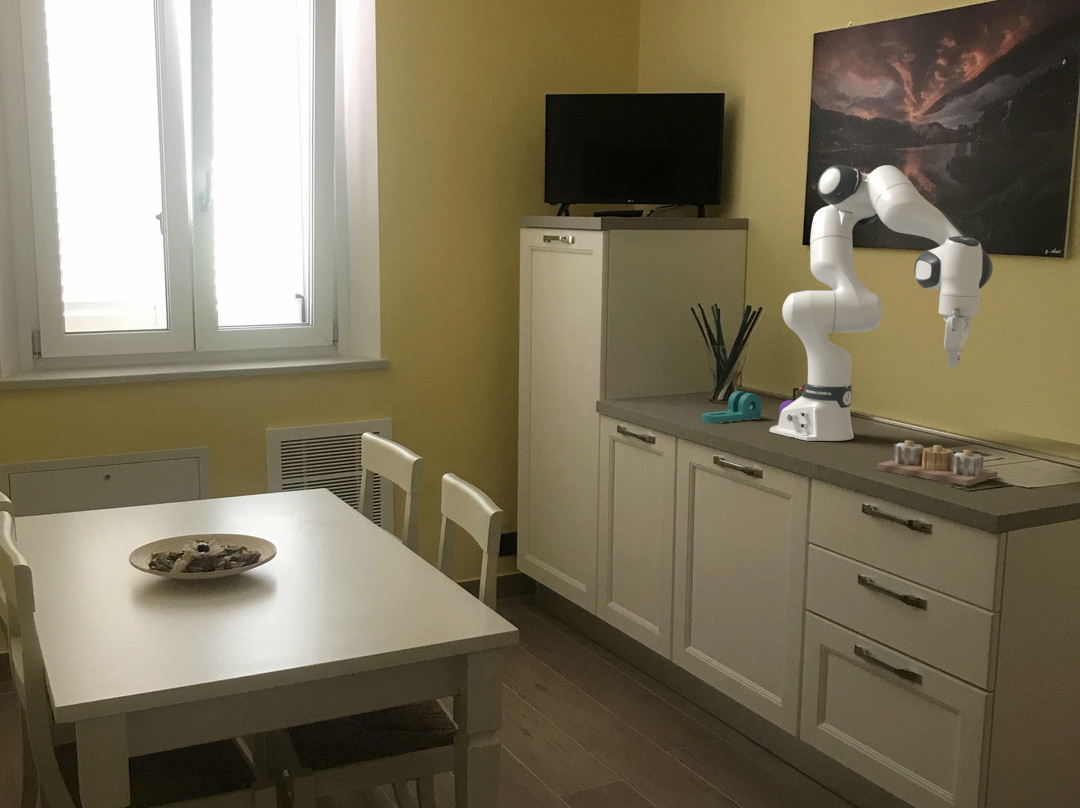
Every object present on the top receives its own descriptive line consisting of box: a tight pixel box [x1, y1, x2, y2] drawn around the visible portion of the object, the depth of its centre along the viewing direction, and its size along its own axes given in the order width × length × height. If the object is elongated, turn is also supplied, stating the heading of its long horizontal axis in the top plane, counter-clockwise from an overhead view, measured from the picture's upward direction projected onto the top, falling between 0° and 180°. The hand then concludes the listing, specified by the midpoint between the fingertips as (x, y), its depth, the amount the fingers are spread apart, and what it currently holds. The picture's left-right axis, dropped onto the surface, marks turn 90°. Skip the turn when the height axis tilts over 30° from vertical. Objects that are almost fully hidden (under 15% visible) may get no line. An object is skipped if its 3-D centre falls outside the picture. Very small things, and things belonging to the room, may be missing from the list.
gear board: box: [876, 439, 999, 485], centre depth 255 cm, size 22×14×6 cm, turn 42°
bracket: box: [701, 390, 762, 424], centre depth 323 cm, size 18×7×8 cm, turn 120°
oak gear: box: [922, 446, 954, 471], centre depth 255 cm, size 7×7×4 cm
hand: (954, 365), depth 264 cm, fingers open, 8 cm apart
